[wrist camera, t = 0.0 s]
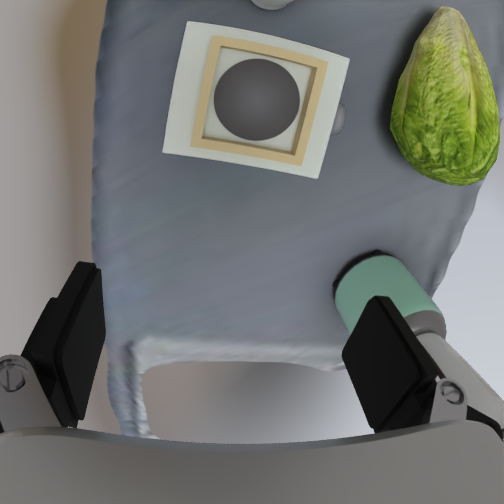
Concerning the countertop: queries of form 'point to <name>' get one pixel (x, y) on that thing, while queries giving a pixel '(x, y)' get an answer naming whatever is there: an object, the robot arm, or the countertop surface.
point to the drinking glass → (271, 4)
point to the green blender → (413, 322)
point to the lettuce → (447, 104)
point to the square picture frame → (254, 100)
